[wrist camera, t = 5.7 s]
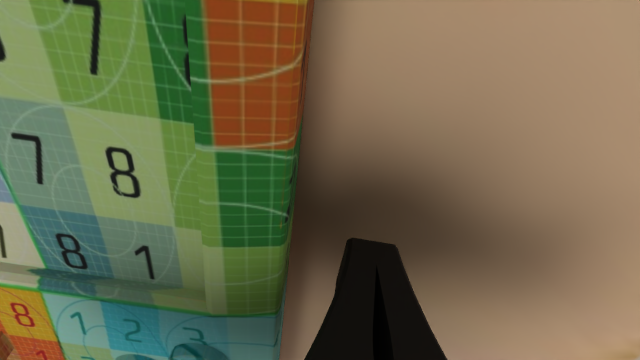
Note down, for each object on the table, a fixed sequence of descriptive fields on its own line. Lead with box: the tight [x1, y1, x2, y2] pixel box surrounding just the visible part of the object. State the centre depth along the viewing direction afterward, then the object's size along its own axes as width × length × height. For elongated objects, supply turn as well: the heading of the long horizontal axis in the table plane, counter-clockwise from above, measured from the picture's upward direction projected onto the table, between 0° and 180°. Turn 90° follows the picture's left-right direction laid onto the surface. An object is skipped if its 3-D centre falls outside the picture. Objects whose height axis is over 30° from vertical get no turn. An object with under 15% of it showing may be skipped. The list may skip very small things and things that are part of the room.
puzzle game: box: [0, 0, 314, 360], centre depth 12 cm, size 12×5×20 cm
